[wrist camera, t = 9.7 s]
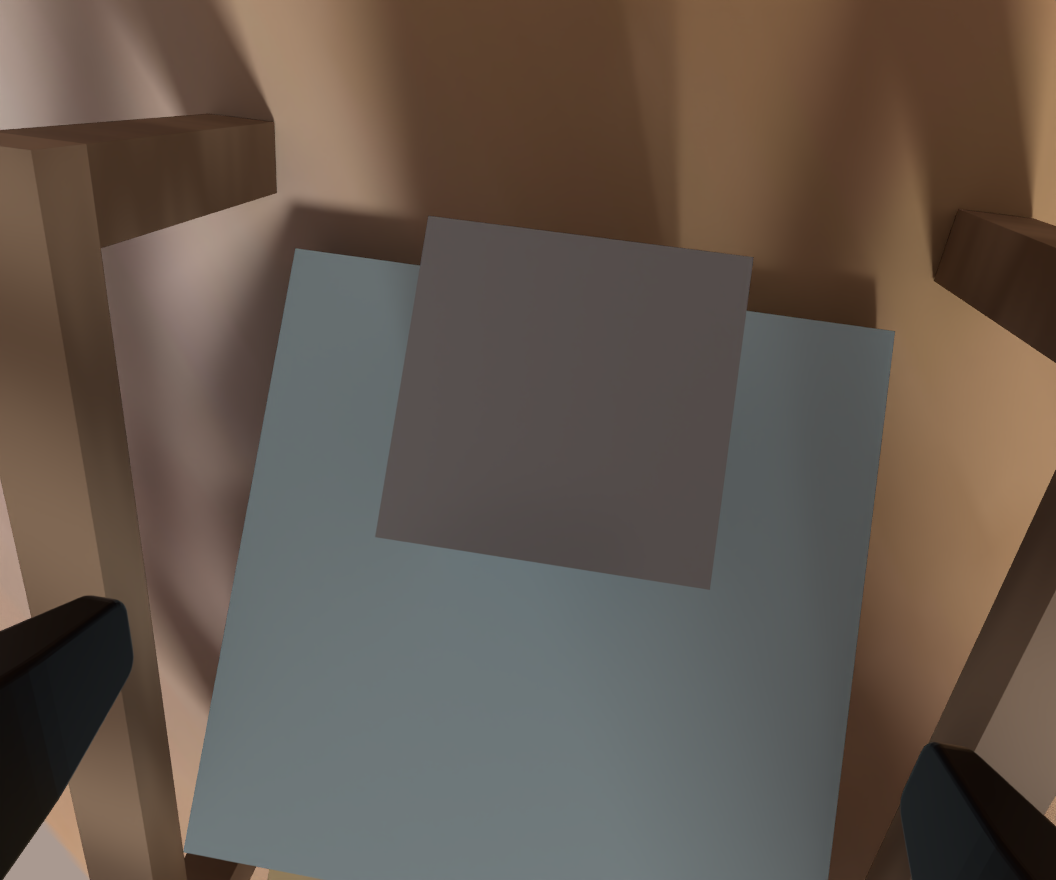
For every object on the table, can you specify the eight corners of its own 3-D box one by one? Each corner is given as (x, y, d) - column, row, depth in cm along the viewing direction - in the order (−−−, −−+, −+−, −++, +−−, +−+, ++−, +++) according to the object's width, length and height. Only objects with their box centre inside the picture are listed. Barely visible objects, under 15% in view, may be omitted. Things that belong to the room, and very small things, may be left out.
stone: (661, 560, 17) (709, 589, 11) (442, 526, 17) (375, 537, 11) (691, 342, 17) (753, 257, 12) (476, 313, 18) (428, 215, 12)
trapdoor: (718, 1054, 22) (778, 1280, 16) (253, 958, 23) (130, 1135, 17) (806, 379, 24) (894, 331, 17) (367, 315, 25) (295, 248, 18)
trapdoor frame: (781, 871, 26) (835, 1168, 19) (254, 772, 28) (120, 1016, 20) (1033, 218, 17) (1334, 324, 10) (208, 114, 18) (-76, 136, 11)
